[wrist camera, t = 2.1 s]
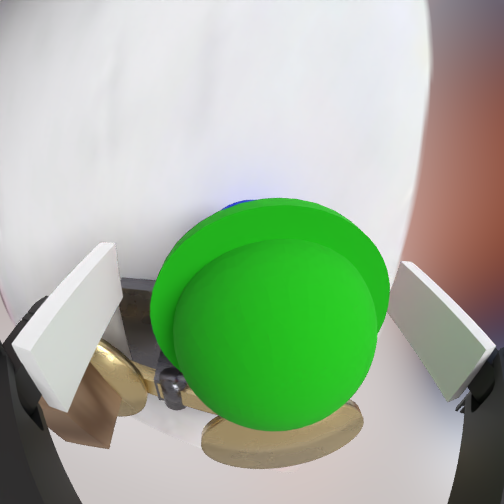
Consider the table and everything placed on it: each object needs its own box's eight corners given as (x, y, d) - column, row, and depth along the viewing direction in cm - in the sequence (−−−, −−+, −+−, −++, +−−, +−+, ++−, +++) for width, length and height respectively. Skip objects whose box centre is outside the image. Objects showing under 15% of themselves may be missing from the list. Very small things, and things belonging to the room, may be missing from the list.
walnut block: (46, 359, 16) (23, 405, 11) (86, 357, 15) (63, 411, 11) (80, 397, 18) (65, 441, 13) (122, 398, 18) (109, 449, 13)
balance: (47, 269, 19) (-19, 345, 10) (339, 289, 22) (394, 388, 13) (78, 359, 24) (47, 433, 15) (308, 378, 27) (331, 462, 18)
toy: (312, 162, 18) (490, 270, 4) (297, 264, 21) (372, 447, 7) (196, 154, 17) (73, 257, 3) (194, 261, 20) (157, 461, 7)
